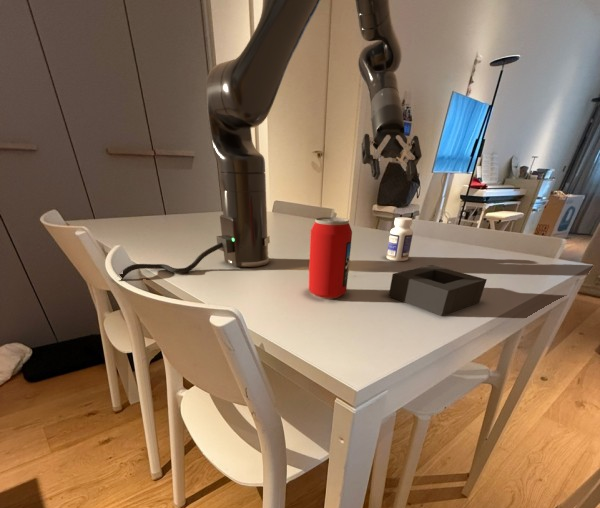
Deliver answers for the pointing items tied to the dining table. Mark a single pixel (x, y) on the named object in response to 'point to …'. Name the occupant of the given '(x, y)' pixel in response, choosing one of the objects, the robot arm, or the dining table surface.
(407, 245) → the pill bottle
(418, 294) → the socket pad
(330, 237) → the beverage can
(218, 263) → the dining table surface
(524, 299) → the dining table surface
